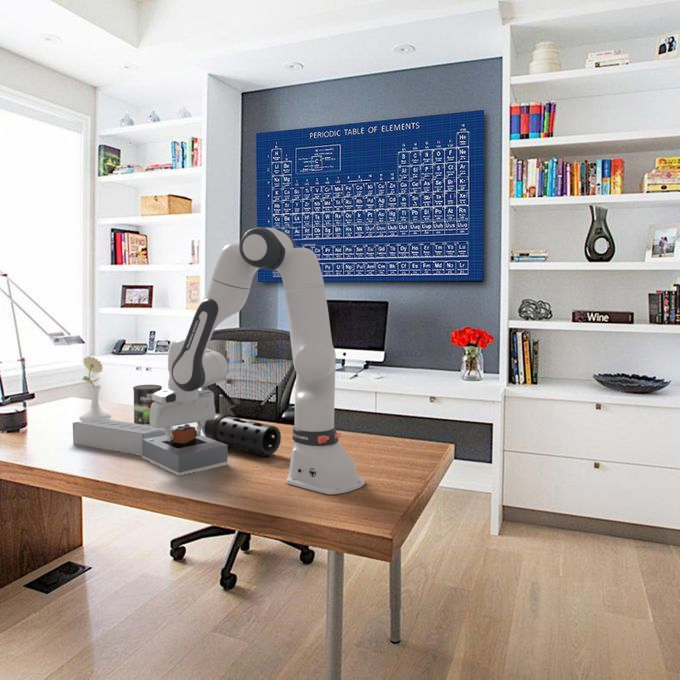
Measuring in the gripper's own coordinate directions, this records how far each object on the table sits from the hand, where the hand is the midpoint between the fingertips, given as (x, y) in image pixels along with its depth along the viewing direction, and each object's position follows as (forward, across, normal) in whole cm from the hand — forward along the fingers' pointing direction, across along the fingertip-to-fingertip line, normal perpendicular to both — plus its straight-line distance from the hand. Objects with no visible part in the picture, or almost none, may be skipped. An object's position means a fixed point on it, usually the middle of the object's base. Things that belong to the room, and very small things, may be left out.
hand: (183, 438), depth 176 cm
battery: (+6, 0, 0) cm, 6 cm away
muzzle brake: (+8, -20, 0) cm, 21 cm away
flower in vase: (+8, 0, -68) cm, 68 cm away
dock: (+7, 0, 0) cm, 7 cm away
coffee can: (+8, -14, -52) cm, 54 cm away
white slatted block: (+8, +5, -30) cm, 31 cm away
